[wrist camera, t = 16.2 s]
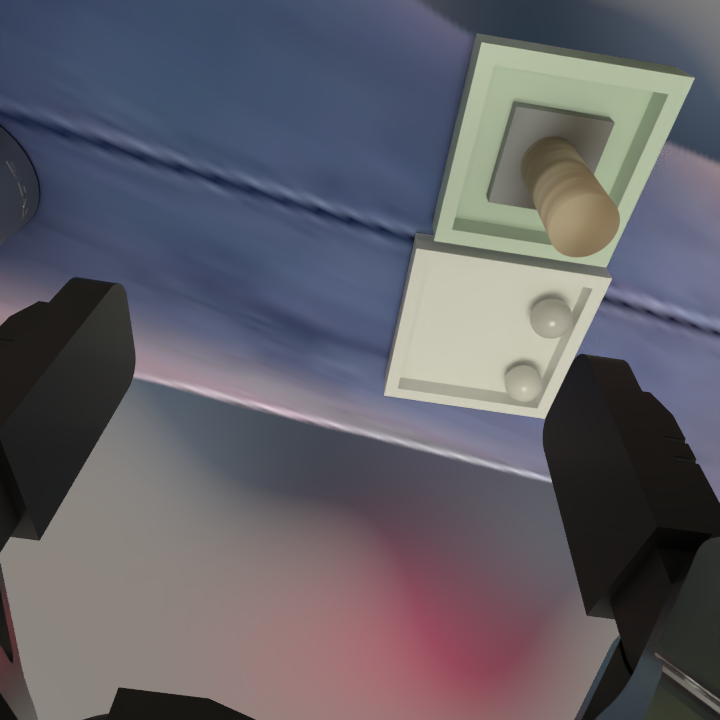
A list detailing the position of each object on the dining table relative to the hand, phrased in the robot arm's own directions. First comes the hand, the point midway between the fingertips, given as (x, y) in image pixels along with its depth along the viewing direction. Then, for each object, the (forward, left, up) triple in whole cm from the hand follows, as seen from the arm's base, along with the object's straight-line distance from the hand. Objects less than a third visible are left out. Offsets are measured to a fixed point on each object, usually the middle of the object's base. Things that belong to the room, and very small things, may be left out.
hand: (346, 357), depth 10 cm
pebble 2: (+15, -16, -28) cm, 35 cm away
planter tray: (+11, -4, -30) cm, 32 cm away
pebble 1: (+15, -22, -28) cm, 38 cm away
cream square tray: (+11, -18, -30) cm, 37 cm away
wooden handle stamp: (+11, -5, -29) cm, 31 cm away
